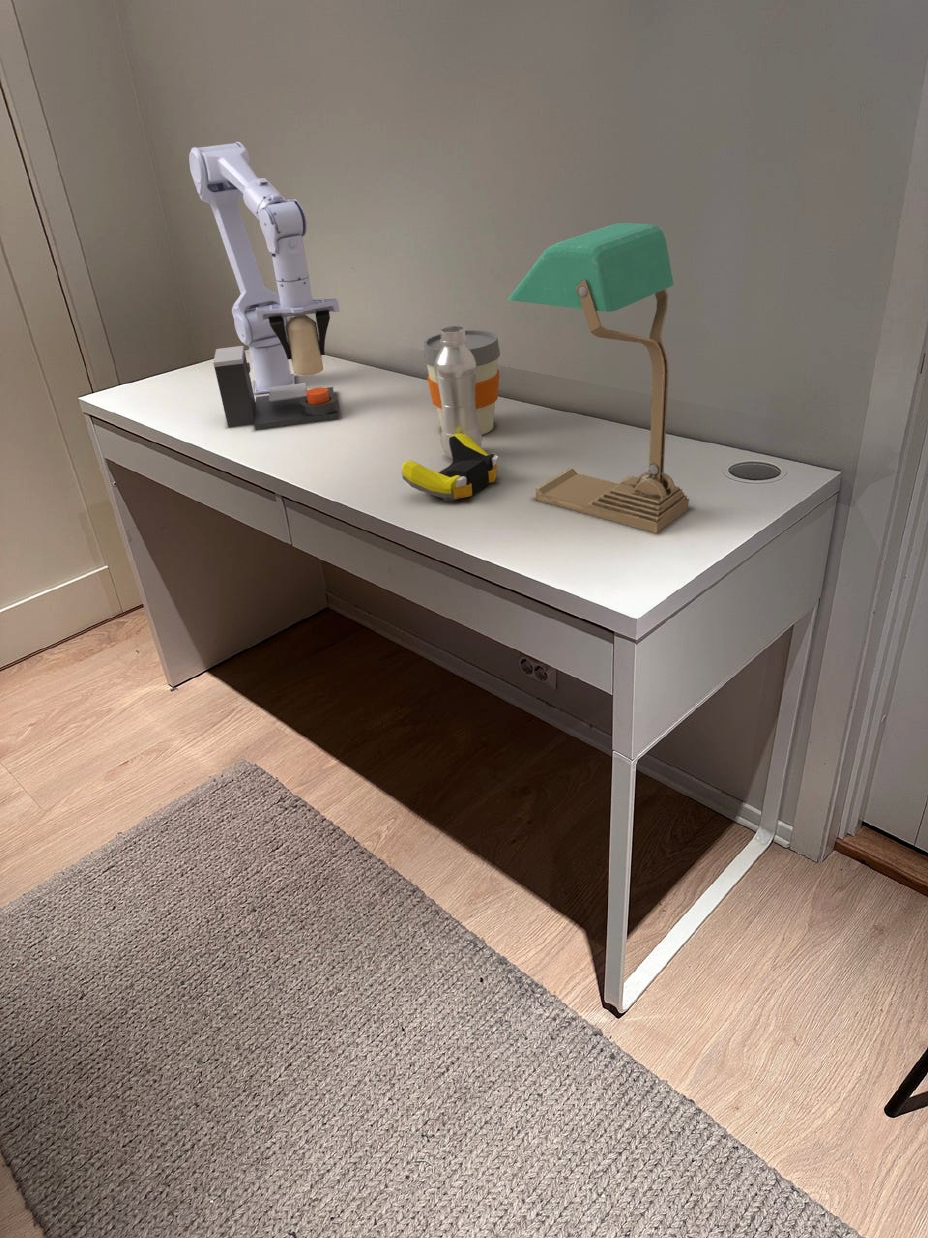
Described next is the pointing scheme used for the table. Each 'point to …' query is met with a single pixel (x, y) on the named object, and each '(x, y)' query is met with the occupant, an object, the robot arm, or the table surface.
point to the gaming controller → (454, 471)
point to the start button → (317, 395)
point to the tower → (244, 387)
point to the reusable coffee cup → (486, 373)
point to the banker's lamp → (607, 281)
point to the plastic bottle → (456, 387)
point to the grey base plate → (293, 411)
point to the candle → (304, 345)
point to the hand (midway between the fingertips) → (305, 355)
